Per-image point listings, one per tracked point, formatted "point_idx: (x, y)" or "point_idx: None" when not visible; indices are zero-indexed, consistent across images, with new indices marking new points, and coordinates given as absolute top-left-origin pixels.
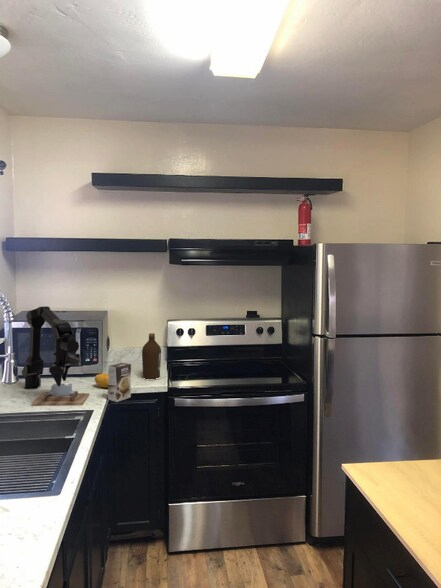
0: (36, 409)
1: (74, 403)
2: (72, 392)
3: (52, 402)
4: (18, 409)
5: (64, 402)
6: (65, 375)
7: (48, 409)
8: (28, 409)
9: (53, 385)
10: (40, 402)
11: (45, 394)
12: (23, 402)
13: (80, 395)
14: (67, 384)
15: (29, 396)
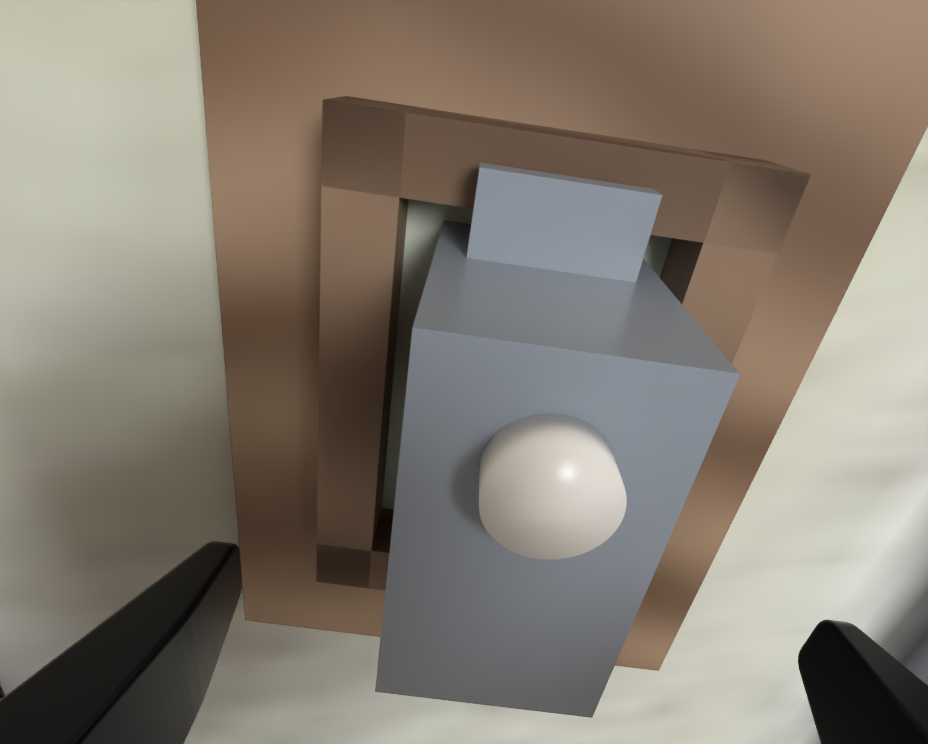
0: (815, 596)
1: (922, 120)
2: (591, 223)
3: (706, 483)
4: (730, 718)
5: (784, 318)
6: (132, 710)
7: (893, 486)
8: (774, 655)
9: (526, 692)
10: (645, 603)
11: (289, 586)
12: (500, 707)
13: (382, 23)
14: (606, 451)
15: (288, 686)
